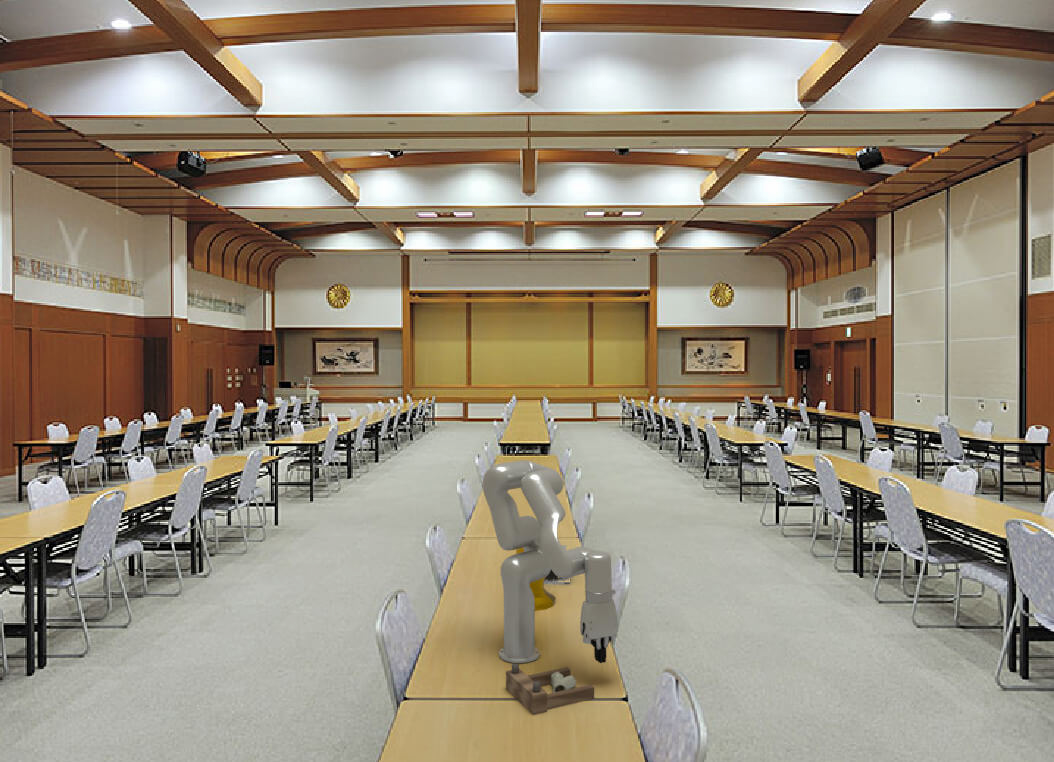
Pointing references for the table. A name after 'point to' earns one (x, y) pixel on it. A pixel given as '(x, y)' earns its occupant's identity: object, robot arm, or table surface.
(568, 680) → the pipe fitting
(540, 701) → the bench jig
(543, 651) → the table surface
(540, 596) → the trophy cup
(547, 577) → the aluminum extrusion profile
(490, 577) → the table surface
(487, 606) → the table surface
